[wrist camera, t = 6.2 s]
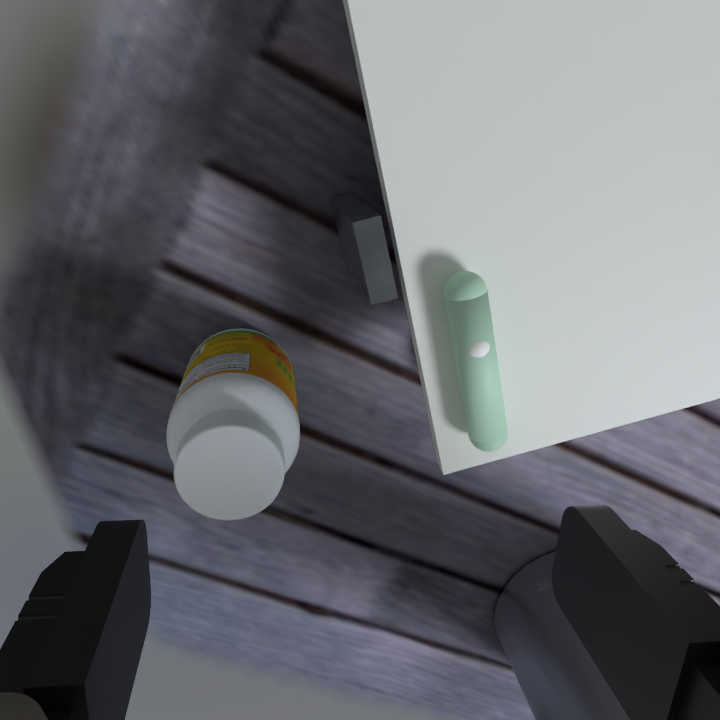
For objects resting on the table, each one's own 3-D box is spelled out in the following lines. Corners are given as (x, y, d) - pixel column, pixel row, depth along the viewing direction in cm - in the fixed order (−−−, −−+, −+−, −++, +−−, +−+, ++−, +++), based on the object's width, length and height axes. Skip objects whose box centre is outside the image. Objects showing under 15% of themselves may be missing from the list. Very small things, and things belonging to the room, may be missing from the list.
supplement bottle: (304, 410, 32) (318, 518, 23) (203, 433, 32) (178, 552, 23) (280, 315, 30) (286, 392, 21) (173, 338, 30) (131, 427, 21)
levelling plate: (732, 381, 28) (778, 407, 25) (437, 462, 27) (454, 497, 24) (742, -157, 20) (811, -197, 17) (330, -62, 19) (339, -89, 17)
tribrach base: (677, 347, 34) (800, 412, 26) (384, 427, 33) (420, 518, 25) (662, -123, 26) (836, -237, 18) (273, -34, 25) (276, -111, 17)
